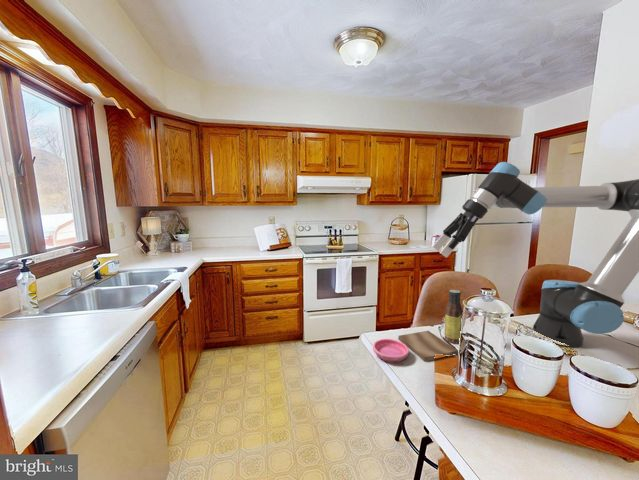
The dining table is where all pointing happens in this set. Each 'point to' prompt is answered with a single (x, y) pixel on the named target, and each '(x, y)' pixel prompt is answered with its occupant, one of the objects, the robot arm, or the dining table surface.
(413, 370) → the dining table surface
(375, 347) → the saucer
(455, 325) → the sauce bottle
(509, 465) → the dining table surface
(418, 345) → the walnut serving board
